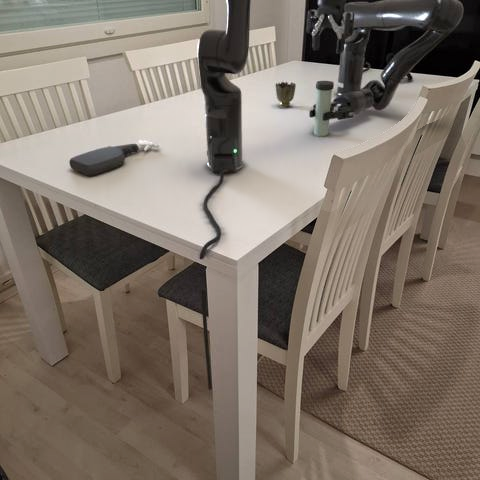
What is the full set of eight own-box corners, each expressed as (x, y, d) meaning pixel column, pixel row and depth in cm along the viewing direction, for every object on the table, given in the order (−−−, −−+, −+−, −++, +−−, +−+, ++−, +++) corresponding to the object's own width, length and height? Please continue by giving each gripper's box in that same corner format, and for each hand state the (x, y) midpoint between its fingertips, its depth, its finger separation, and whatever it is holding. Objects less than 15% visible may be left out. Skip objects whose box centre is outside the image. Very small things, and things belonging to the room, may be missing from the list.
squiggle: (400, 92, 202) (376, 71, 205) (417, 76, 202) (392, 56, 205) (405, 81, 191) (380, 59, 194) (423, 64, 191) (397, 42, 194)
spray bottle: (67, 168, 120) (139, 144, 136) (91, 178, 114) (163, 151, 130) (65, 157, 118) (137, 134, 134) (89, 167, 112) (162, 142, 128)
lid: (334, 86, 135) (334, 81, 134) (332, 90, 130) (332, 85, 130) (317, 85, 136) (317, 80, 135) (314, 89, 132) (315, 84, 131)
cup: (271, 107, 166) (272, 85, 162) (279, 102, 172) (280, 80, 168) (290, 109, 163) (291, 87, 159) (297, 104, 169) (298, 82, 165)
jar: (328, 132, 142) (333, 82, 134) (327, 136, 138) (331, 86, 130) (314, 131, 143) (318, 82, 135) (312, 135, 139) (316, 85, 131)
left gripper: (302, -14, 121) (299, 50, 130) (348, -13, 113) (341, 56, 121) (319, -16, 126) (315, 47, 134) (363, -15, 117) (356, 52, 126)
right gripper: (332, 89, 148) (299, 99, 138) (370, 96, 139) (337, 107, 129) (330, 111, 152) (298, 123, 142) (366, 120, 143) (335, 133, 133)
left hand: (327, 51), depth 128 cm, fingers open, 7 cm apart
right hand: (317, 115), depth 136 cm, fingers closed on jar, 4 cm apart
